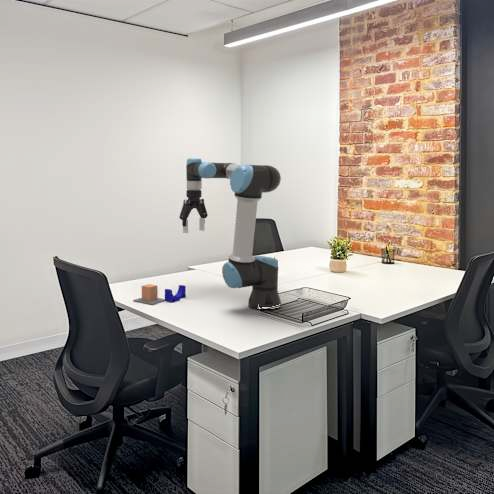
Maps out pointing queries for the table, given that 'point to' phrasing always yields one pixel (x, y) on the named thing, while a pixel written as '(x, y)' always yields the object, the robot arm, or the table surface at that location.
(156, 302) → the stand
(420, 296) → the table surface
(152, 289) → the peach clay cube
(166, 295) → the blue arch bracket
